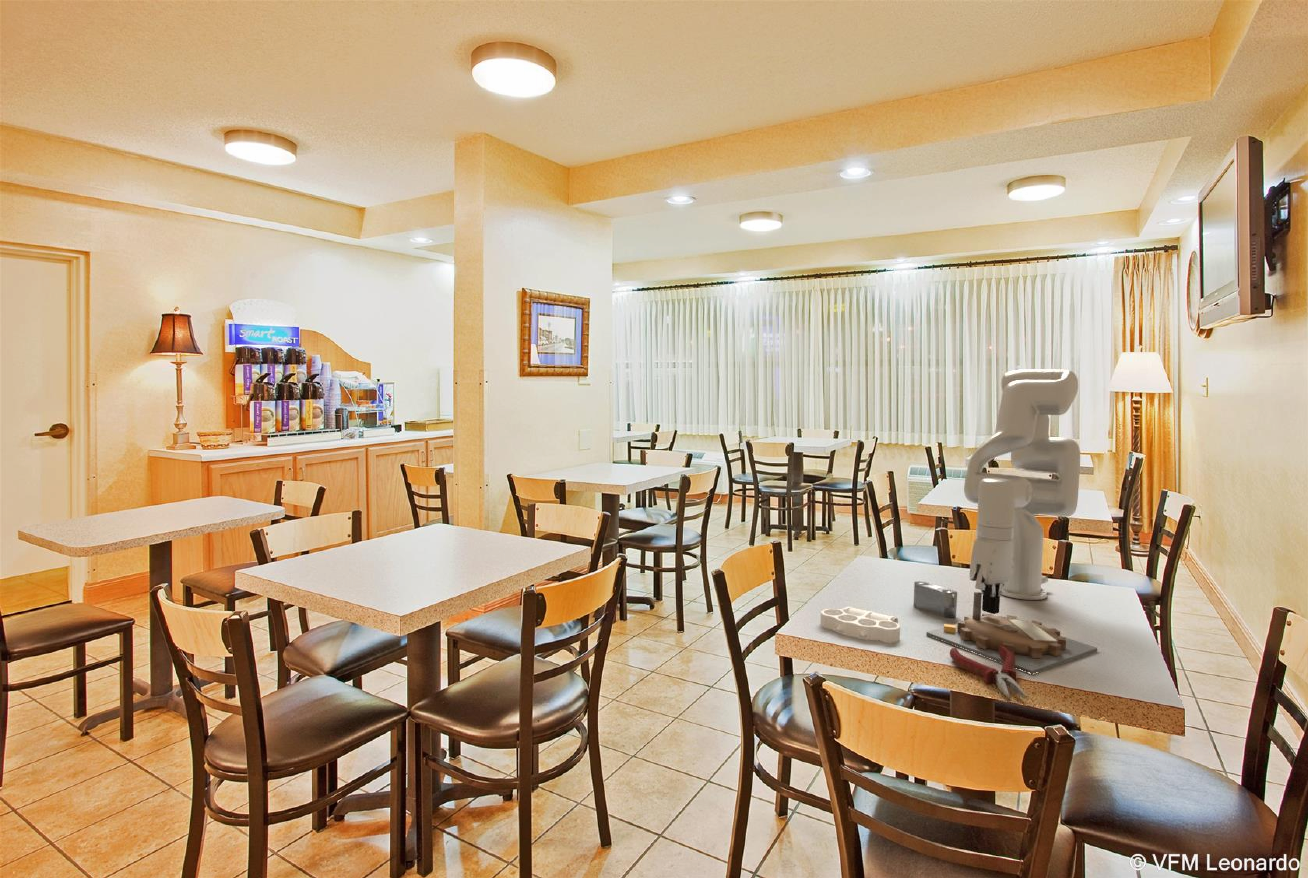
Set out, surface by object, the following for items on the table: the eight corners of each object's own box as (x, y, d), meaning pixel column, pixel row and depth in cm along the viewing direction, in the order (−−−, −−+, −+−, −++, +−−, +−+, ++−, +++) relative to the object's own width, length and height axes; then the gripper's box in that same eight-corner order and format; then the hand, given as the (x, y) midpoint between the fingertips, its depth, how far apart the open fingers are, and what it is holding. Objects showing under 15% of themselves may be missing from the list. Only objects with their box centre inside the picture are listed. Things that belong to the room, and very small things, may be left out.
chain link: (919, 603, 177) (920, 580, 176) (959, 616, 167) (960, 592, 166) (910, 605, 175) (911, 582, 174) (950, 619, 165) (951, 594, 165)
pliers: (984, 705, 122) (984, 691, 121) (947, 657, 142) (947, 645, 141) (1052, 703, 120) (1052, 689, 120) (1006, 655, 140) (1005, 643, 140)
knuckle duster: (911, 631, 158) (889, 650, 146) (836, 614, 169) (810, 630, 157) (912, 616, 158) (890, 635, 146) (837, 600, 169) (811, 616, 157)
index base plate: (991, 617, 166) (991, 609, 166) (1097, 651, 146) (1097, 642, 146) (926, 635, 154) (926, 626, 154) (1032, 675, 134) (1032, 665, 133)
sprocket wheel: (993, 616, 164) (995, 583, 163) (1085, 645, 146) (1087, 608, 146) (937, 632, 153) (939, 596, 153) (1028, 665, 136) (1031, 625, 135)
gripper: (998, 526, 163) (994, 602, 165) (959, 533, 156) (955, 612, 157) (1029, 532, 157) (1025, 611, 159) (990, 539, 149) (985, 622, 151)
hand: (990, 611), depth 158 cm, fingers closed
